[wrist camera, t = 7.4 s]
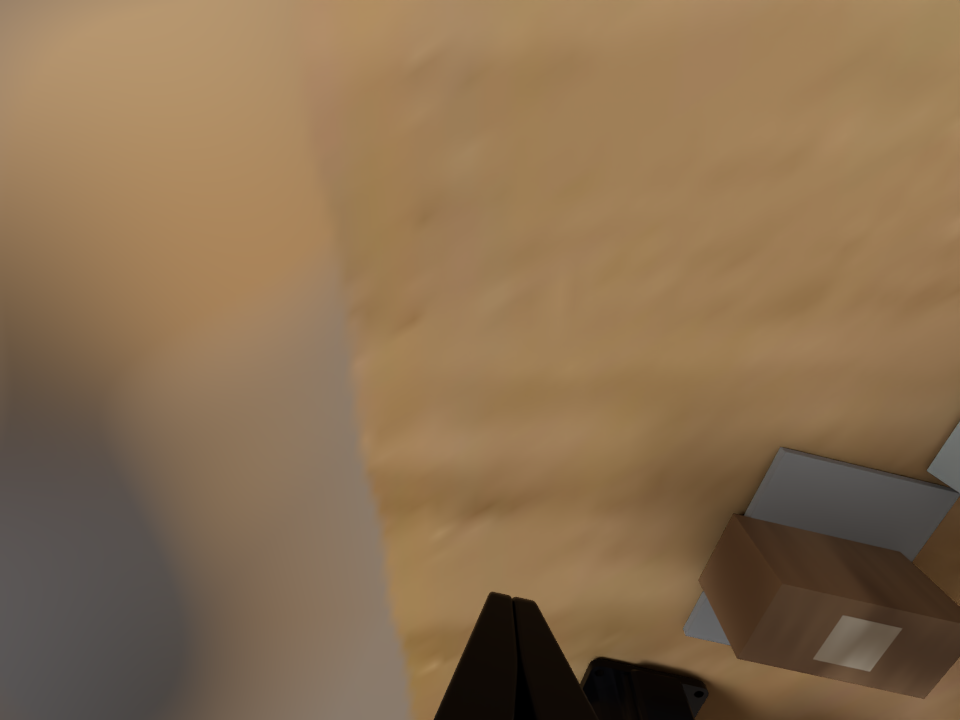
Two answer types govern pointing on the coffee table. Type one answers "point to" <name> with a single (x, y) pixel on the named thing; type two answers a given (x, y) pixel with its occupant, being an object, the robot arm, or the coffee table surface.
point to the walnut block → (830, 607)
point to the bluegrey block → (948, 461)
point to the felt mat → (838, 512)
